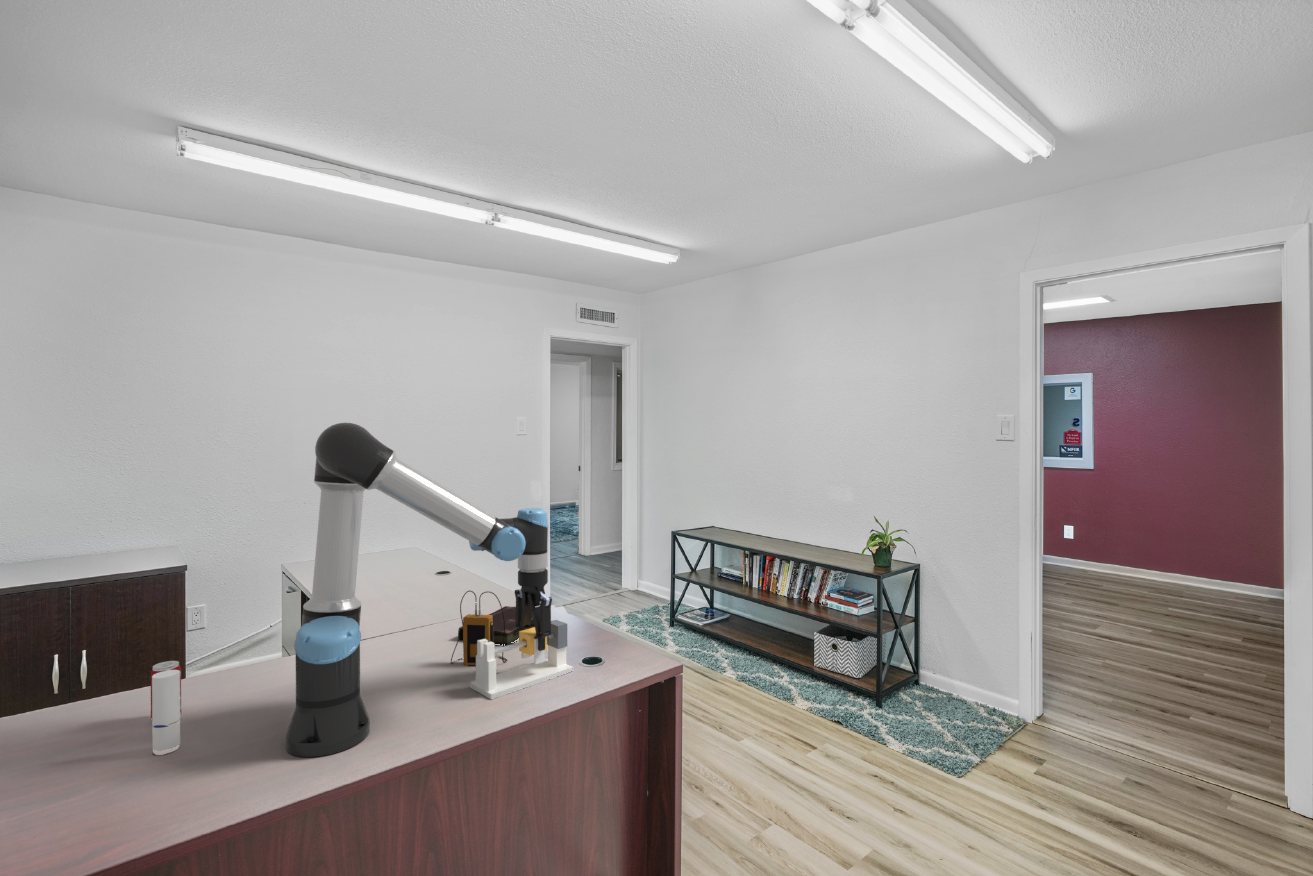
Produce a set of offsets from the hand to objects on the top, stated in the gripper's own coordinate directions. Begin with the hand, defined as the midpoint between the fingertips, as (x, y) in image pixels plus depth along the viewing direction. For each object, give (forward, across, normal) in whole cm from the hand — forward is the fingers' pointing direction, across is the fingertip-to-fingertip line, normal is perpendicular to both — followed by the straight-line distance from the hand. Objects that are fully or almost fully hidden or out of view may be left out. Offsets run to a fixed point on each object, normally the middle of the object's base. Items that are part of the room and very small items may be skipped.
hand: (533, 659), depth 159 cm
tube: (+5, +20, +72) cm, 75 cm away
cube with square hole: (-2, 0, 0) cm, 2 cm away
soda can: (+5, +37, +70) cm, 79 cm away
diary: (+5, +37, -15) cm, 40 cm away
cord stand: (+4, 0, +3) cm, 5 cm away
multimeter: (+5, +20, +3) cm, 21 cm away
